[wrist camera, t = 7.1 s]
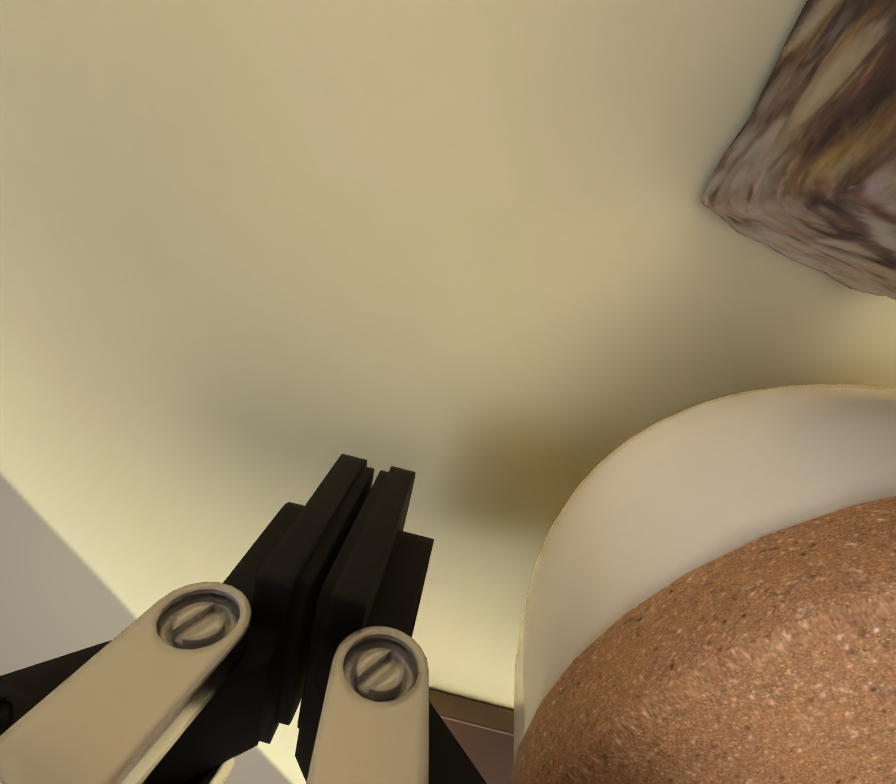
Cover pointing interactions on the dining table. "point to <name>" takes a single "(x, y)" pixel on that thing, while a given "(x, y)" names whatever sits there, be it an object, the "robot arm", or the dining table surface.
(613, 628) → the trinket box
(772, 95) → the stone block
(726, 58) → the dining table surface
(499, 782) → the walnut straight-edge
